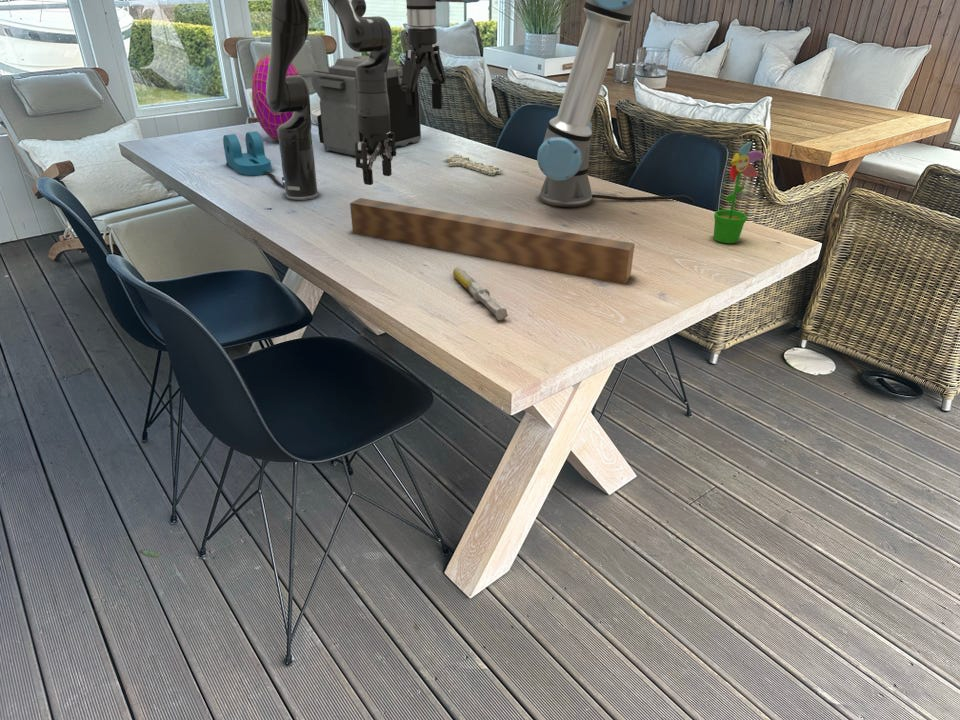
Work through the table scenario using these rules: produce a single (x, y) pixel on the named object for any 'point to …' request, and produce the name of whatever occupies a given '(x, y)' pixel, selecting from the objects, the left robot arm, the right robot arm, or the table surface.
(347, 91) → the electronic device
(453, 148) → the table surface
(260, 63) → the decorative egg
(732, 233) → the potted flower
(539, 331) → the table surface
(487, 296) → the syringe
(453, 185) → the table surface
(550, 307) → the table surface
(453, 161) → the decorative sign
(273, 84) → the left robot arm
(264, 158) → the camera mount
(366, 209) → the bar
